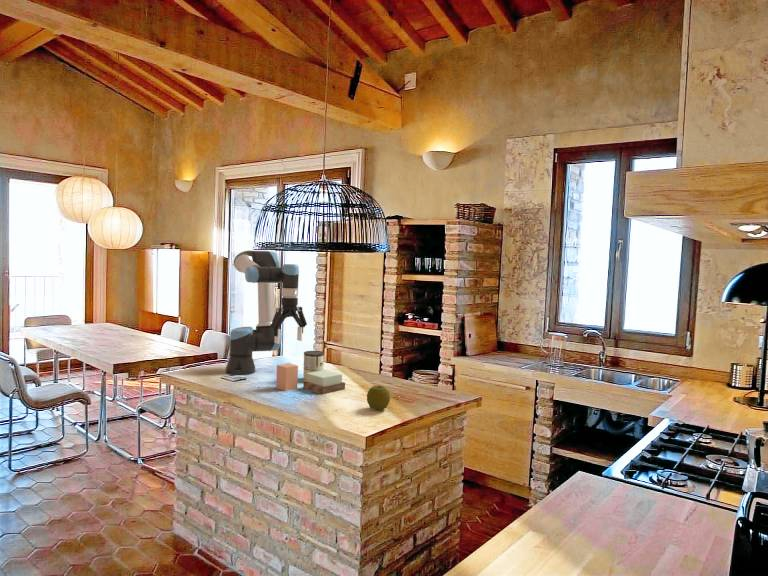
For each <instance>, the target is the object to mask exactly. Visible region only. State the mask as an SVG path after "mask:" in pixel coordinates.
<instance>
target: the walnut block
mask: <svg viewBox="0 0 768 576" xmlns="http://www.w3.org/2000/svg"><path fill="white" fill-rule="evenodd" d="M302 388H303V390H307V391H311V392H314V393H318V394H320V395H327V394H330V393H331V394H332V393H334V392H336V393H337V392H340V391H344V390H346V382H344V381H342V383H338V384H333V385H328V386H320V385H316V384H313V383H309V382H306V381H304V380H303V386H302Z"/></svg>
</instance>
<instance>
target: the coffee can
mask: <svg viewBox="0 0 768 576" xmlns="http://www.w3.org/2000/svg"><path fill="white" fill-rule="evenodd" d="M324 362H325V352H324V351H320V350H306V351H304V352H303V374H302V375H303V378H302V379H303V380H302V381H303V382H304V381H306V373H311V372H317V371H323V370H325V369H324V367H325V366H324V364H325V363H324Z"/></svg>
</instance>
